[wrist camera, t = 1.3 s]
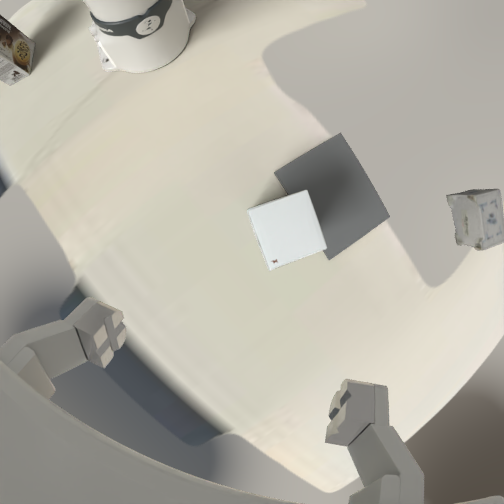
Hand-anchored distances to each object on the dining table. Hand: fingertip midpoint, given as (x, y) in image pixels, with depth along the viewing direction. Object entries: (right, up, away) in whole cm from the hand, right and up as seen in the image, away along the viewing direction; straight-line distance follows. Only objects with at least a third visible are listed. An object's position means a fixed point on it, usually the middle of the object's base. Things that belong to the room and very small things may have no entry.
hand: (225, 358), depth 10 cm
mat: (+14, +13, +36) cm, 41 cm away
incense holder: (+41, +10, +38) cm, 57 cm away
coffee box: (-48, +43, +29) cm, 71 cm away
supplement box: (+5, +8, +36) cm, 37 cm away
